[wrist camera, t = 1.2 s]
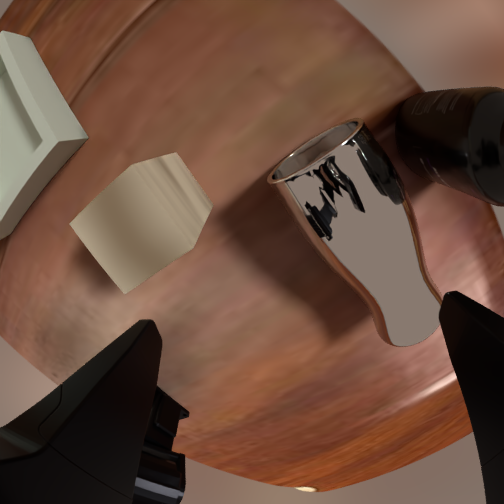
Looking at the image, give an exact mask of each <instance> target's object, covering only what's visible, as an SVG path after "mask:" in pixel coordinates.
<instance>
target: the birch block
mask: <svg viewBox="0 0 504 504" xmlns="http://www.w3.org/2000/svg"><path fill="white" fill-rule="evenodd" d="M212 207H213V203H212V202H211V200H210V199H209V198H208V196H207V195H206V193H205V192H204V191H203V189H202V188H201V186H200V185H199V184H198V182H197V181H196V179H195V178H194V177H193V175H192V174H191V172H190V171H189V170H188V168H187V167H186V165H185V164H184V162H183V161H182V160H181V158H180V157H179V155H178V154H177V153H172V154H168V155H164V156H160V157H157V158H153V159H149V160H146V161H142V162H139V163H136V164H132V165H131V166H130V167H129V168H128V169H126V170H125V171H124V172H123V173H122V174H121V175H120V176H118V177H117V178H116V179H115V180H114V181H113V182H112V183H111V184H110V185H108V186H107V187H106V188H105V189H104V190H103V191H102V192H101V193H100V194H99V195H98V196H97V197H96V198H95V199H94V200H93V201H92V202H91V203H90V204H88V205H87V206H86V207H85V208H84V209H83V210H82V211H81V212H80V213H79V215H78V216H77V217H76V218H75V219H74V220H73V221H72V222H71V223H70V225H71V227H72V228H73V229H74V231H75V232H76V234H77V235H78V236H79V238H80V239H81V240H82V242H83V243H84V244H85V246H86V247H87V248H88V250H89V251H90V252H91V254H92V255H93V256H94V258H95V259H96V260H97V261H98V263H99V264H100V265H101V266H102V268H103V269H104V270H105V271H106V273H107V274H108V275H109V276H110V278H111V279H112V280H113V281H114V282H115V284H116V285H117V286H118V287H119V288H120V290H121V291H122V292H123V293H124V294H127V293H128V292H129V291H131V290H132V289H134V288H135V287H137V286H138V285H139V284H141V283H142V282H144V281H145V280H147V279H148V278H150V277H151V276H153V275H154V274H155V273H157V272H158V271H160V270H161V269H163V268H164V267H166V266H167V265H169V264H170V263H172V262H173V261H175V260H176V259H178V258H179V257H181V256H182V255H184V254H185V253H187V252H188V251H190V250H191V249H193V248H194V246H195V243H196V241H197V239H198V237H199V235H200V233H201V230H202V228H203V226H204V224H205V222H206V220H207V218H208V216H209V213H210V211H211V209H212Z"/></svg>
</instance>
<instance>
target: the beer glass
mask: <svg viewBox="0 0 504 504" xmlns="http://www.w3.org/2000/svg"><path fill="white" fill-rule="evenodd" d="M267 182H268V184H270V186H271V187H272V189H273V190H274V192H275V193H276V195H277V196H278V198H279V199H280V201H281V203H282V204H283V206H284V207H285V209H286V211H287V212H288V214H289V215H290V217H291V218H292V220H293V222H294V223H295V225H296V226H297V227H298V229H299V230H300V232H301V233H302V235H303V236H304V238H305V239H306V240H307V242H308V243H309V244H310V245H311V247H312V248H313V249H314V251H315V252H316V253H317V254H318V256H319V257H320V258H321V259H322V260H323V261H324V262H325V263H326V264H327V265H328V266H329V267H330V269H331V270H332V271H333V272H334V273H335V274H337V275H338V276H339V277H340V278H341V279H342V280H343V281H344V282H345V283H346V284H347V285H348V286H349V287H350V288H351V289H352V290H353V291H354V292H355V293H356V294H357V295H358V296H359V297H360V298H361V299H362V300H363V301H364V303H365V304H366V306H367V307H368V309H369V310H370V312H371V315H372V318H373V321H374V324H375V327H376V330H377V333H378V335H379V336H380V338H381V339H382V340H383V341H384V342H386V343H387V344H389V345H392V346H396V347H407V346H412V345H415V344H417V343H420V342H422V341H423V340H425V339H426V338H428V337H429V336H430V335H431V334H433V333H434V331H435V330H436V329H437V328H438V326H439V325H440V322H439V310H440V307H441V304H442V300H443V296H442V294H441V292H440V290H439V289H438V287H437V286H436V284H435V283H434V281H433V280H432V278H431V276H430V274H429V271H428V268H427V265H426V261H425V256H424V251H423V246H422V241H421V236H420V232H419V227H418V223H417V219H416V216H415V212H414V209H413V206H412V203H411V200H410V197H409V195H408V193H407V190H406V188H405V186H404V184H403V182H402V180H401V178H400V176H399V174H398V172H397V170H396V169H395V167H394V165H393V163H392V162H391V160H390V159H389V157H388V156H387V154H386V152H385V151H384V149H383V148H382V146H381V145H380V144H379V142H378V141H377V139H376V138H375V137H374V135H373V134H372V133H371V131H370V130H369V128H368V127H367V125H366V124H365V122H364V120H363V119H361V118H353V119H349V120H346V121H343V122H341V123H339V124H337V125H334V126H332V127H330V128H329V129H327V130H325V131H323V132H321V133H320V134H318V135H316V136H315V137H313V138H312V139H310V140H308V141H307V142H306V143H304V144H303V145H301V146H300V147H298V148H297V149H296V150H294V151H293V152H292V153H291V154H289V155H288V156H287V157H286V158H285V159H283V160H282V161H281V162H280V163H279V164H278V165H277V166H276V167H275V168H274V169H273V170H272V172H271V173H270V174H269V176H268V178H267Z"/></svg>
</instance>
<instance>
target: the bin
mask: <svg viewBox="0 0 504 504" xmlns="http://www.w3.org/2000/svg"><path fill="white" fill-rule="evenodd" d="M87 139H88V136H87V135H86V133H85V131H84V130H83V128H82V127H81V125H80V124H79V122H78V120H77V119H76V117H75V116H74V114H73V112H72V111H71V109H70V108H69V106H68V104H67V103H66V101H65V99H64V98H63V96H62V94H61V93H60V91H59V89H58V87H57V86H56V84H55V82H54V81H53V79H52V77H51V75H50V74H49V72H48V70H47V68H46V66H45V65H44V63H43V61H42V59H41V57H40V55H39V54H38V52H37V50H36V48H35V46H34V44H33V42H32V40H31V38H29V37H25V36H22V35H18V34H14V33H10V32H6V31H2V32H1V33H0V240H1V239H3V238H4V237H6V236H8V235H9V234H11V233H12V231H13V230H14V228H15V227H16V225H17V224H18V222H19V221H20V219H21V218H22V217H23V215H24V214H25V212H26V211H27V210H28V208H29V207H30V206H31V204H32V203H33V202H34V200H35V199H36V198H37V196H38V195H39V194H40V192H41V191H42V190H43V189H44V187H45V186H46V185H47V184H48V182H49V181H50V180H51V179H52V178H53V176H54V175H55V174H56V173H57V172H58V171H59V169H60V168H61V167H62V166H63V165H64V164H65V163H66V162H67V160H68V159H69V158H70V157H71V156H72V155H73V154H74V153H75V152H76V151H77V150H78V149H79V147H80V146H81V145H82V144H83V143H84V142H85V141H86V140H87Z"/></svg>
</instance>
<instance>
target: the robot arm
mask: <svg viewBox="0 0 504 504" xmlns="http://www.w3.org/2000/svg"><path fill="white" fill-rule="evenodd" d="M439 322H440V325H441V328H442V332H443V335H444V338H445V342H446V345H447V349H448V353H449V356H450V359H451V362H452V365H453V368H454V371H455V373H456V376H457V379H458V382H459V385H460V388H461V391H462V394H463V397H464V400H465V404H466V407H467V410H468V414H469V417H470V421H471V425H472V428H473V432H474V436H475V441H476V445H477V449H478V453H479V459H480V464H481V466H482V467H481V470H482V475H483V482H484V488H485V496H486V504H504V318H503V317H501V316H500V315H498V314H496V313H495V312H493V311H491V310H490V309H488V308H486V307H485V306H483V305H481V304H479V303H478V302H476V301H474V300H472V299H471V298H469V297H467V296H465V295H463V294H462V293H460V292H458V291H451V292H447V293H445V295H444V297H443V300H442V304H441V307H440V310H439ZM161 351H162V338H161V336H160V334H159V331H158V329H157V327H156V324H155V322H154V321H153V320H150V319H142V320H139V321H138V322H137V323H135V324H134V325H133V326H132V327H130V328H129V329H128V330H127V331H125V332H124V333H123V334H122V335H120V336H119V337H118V338H117V339H116V340H114V341H113V342H112V343H111V344H109V345H108V346H107V347H106V348H104V349H103V350H102V351H101V352H99V353H98V354H97V355H96V356H95V357H93V358H92V359H91V360H90V361H88V362H87V363H86V364H85V365H84V366H82V367H81V368H80V369H79V370H77V371H76V372H75V373H74V374H73V375H71V376H70V377H69V378H68V379H67V380H65V381H64V382H63V384H60V385H59V386H58V387H57V388H56V389H54V390H53V391H52V392H51V393H50V394H48V395H47V396H46V397H44V398H43V399H42V400H41V401H39V402H38V403H36V404H35V405H34V406H32V407H31V408H30V409H28V410H27V411H25V412H24V413H22V414H21V415H19V416H18V417H17V418H15V419H14V420H12V421H11V422H9V423H8V424H6V425H5V426H3V427H1V428H0V504H179V503H180V502H181V500H182V498H183V495H184V491H185V485H186V480H185V479H186V478H185V454H181V453H176V452H173V451H172V445H173V440H174V437H176V433H177V428H178V423H179V420H180V419H184V418H187V417H189V412H188V411H187V410H186V409H185V408H183V407H182V406H181V405H180V404H178V403H177V402H176V401H175V400H173V399H172V398H171V397H170V396H168V395H167V394H166V393H165V392H164V391H162V390H161V389H160V388H159V387H158V386H157V380H158V372H159V365H160V358H161Z"/></svg>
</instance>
